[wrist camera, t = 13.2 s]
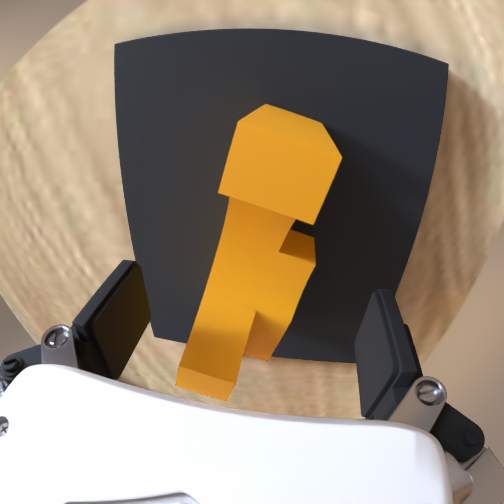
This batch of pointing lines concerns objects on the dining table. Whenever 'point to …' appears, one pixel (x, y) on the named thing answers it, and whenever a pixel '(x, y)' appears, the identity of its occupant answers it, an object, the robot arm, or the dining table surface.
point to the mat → (218, 146)
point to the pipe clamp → (259, 245)
